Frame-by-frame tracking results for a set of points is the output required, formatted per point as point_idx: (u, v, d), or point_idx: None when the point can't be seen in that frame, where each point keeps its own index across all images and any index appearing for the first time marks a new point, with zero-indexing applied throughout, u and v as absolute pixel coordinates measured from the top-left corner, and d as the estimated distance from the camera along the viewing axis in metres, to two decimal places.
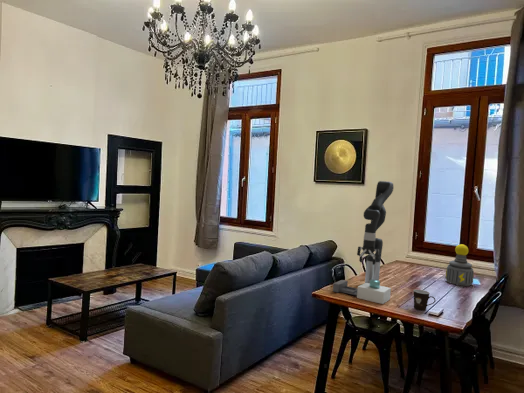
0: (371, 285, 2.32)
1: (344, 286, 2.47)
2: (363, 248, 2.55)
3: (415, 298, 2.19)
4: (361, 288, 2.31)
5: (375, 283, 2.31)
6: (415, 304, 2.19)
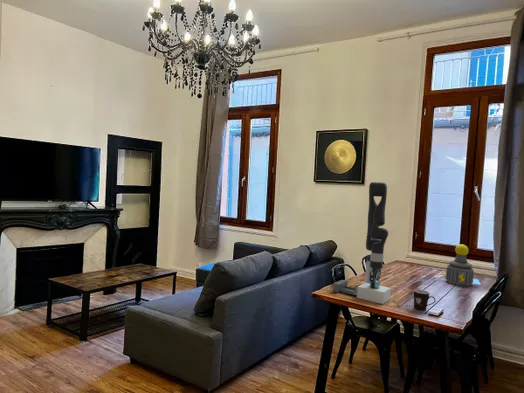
0: None
1: (344, 286, 2.47)
2: (375, 271, 2.30)
3: (415, 298, 2.19)
4: (361, 288, 2.31)
5: (375, 283, 2.31)
6: (415, 304, 2.19)
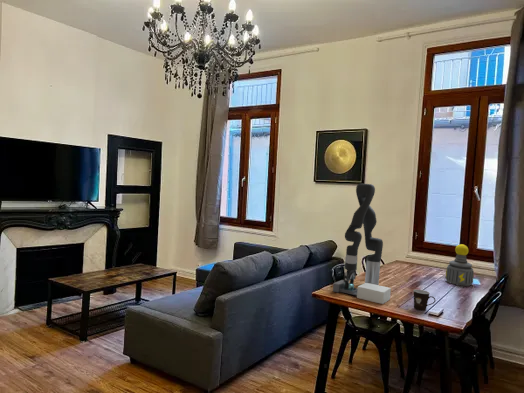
0: (345, 288, 2.42)
1: None
2: (349, 273, 2.40)
3: (415, 298, 2.19)
4: (361, 288, 2.31)
5: (349, 286, 2.40)
6: (415, 304, 2.19)
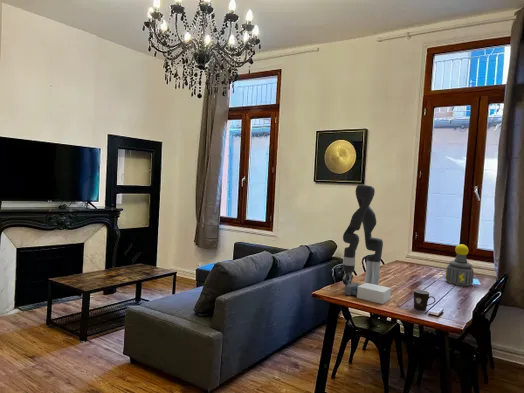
0: None
1: (355, 289, 2.43)
2: (347, 275, 2.41)
3: (415, 298, 2.19)
4: (361, 288, 2.31)
5: None
6: (415, 304, 2.19)
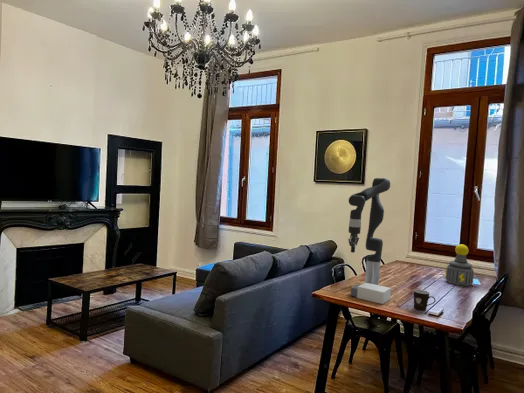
0: None
1: None
2: (353, 236, 2.45)
3: (415, 298, 2.19)
4: (361, 288, 2.31)
5: None
6: (415, 304, 2.19)
